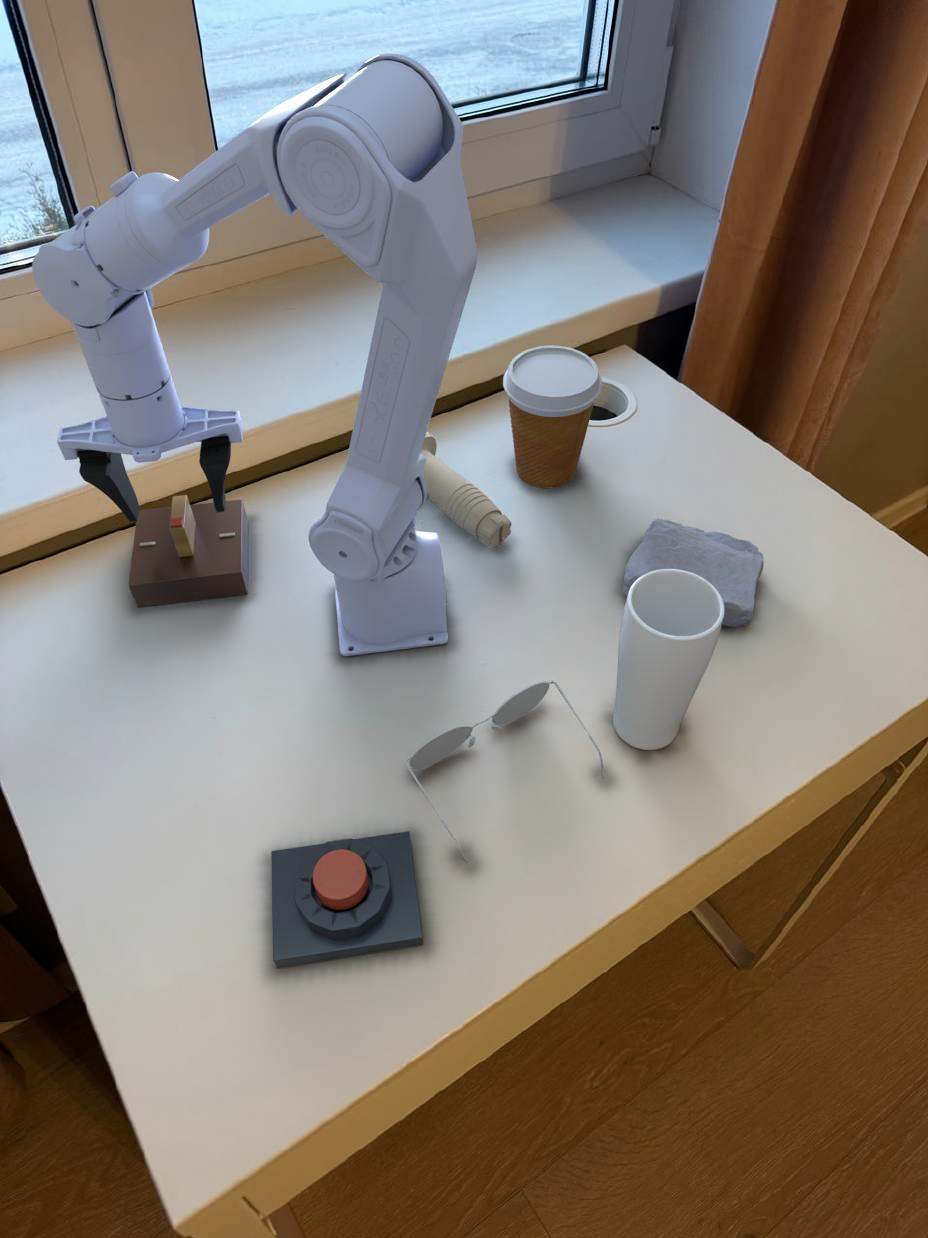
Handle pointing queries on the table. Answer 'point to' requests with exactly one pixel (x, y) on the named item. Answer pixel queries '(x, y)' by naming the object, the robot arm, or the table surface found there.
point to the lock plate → (190, 577)
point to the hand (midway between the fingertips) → (177, 509)
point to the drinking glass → (663, 653)
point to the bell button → (340, 879)
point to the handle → (462, 499)
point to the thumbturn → (182, 526)
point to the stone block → (702, 564)
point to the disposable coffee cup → (550, 411)
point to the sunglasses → (458, 735)
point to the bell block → (356, 931)
